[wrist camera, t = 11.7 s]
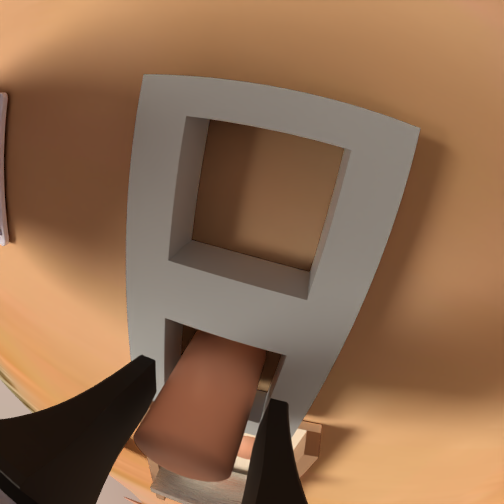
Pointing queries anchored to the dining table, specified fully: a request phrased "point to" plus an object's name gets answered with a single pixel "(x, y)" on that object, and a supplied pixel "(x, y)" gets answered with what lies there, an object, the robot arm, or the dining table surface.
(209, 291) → the socket board
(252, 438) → the pattern tray
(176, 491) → the cover
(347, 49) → the dining table surface
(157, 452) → the terracotta peg
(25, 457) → the robot arm
